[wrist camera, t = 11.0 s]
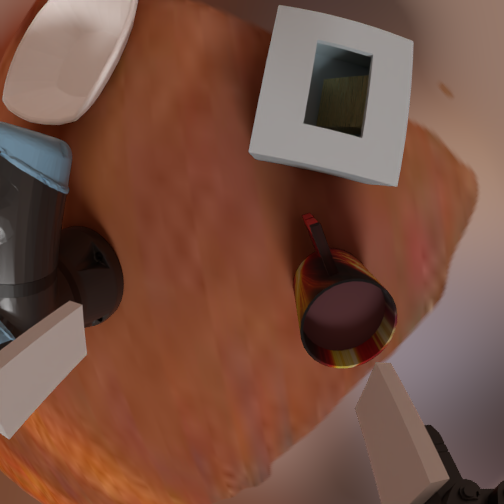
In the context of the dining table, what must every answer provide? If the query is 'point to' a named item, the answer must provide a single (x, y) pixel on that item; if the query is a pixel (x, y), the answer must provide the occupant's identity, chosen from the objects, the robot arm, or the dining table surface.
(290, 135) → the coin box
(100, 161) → the dining table surface
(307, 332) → the mug
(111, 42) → the bowl
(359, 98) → the token
